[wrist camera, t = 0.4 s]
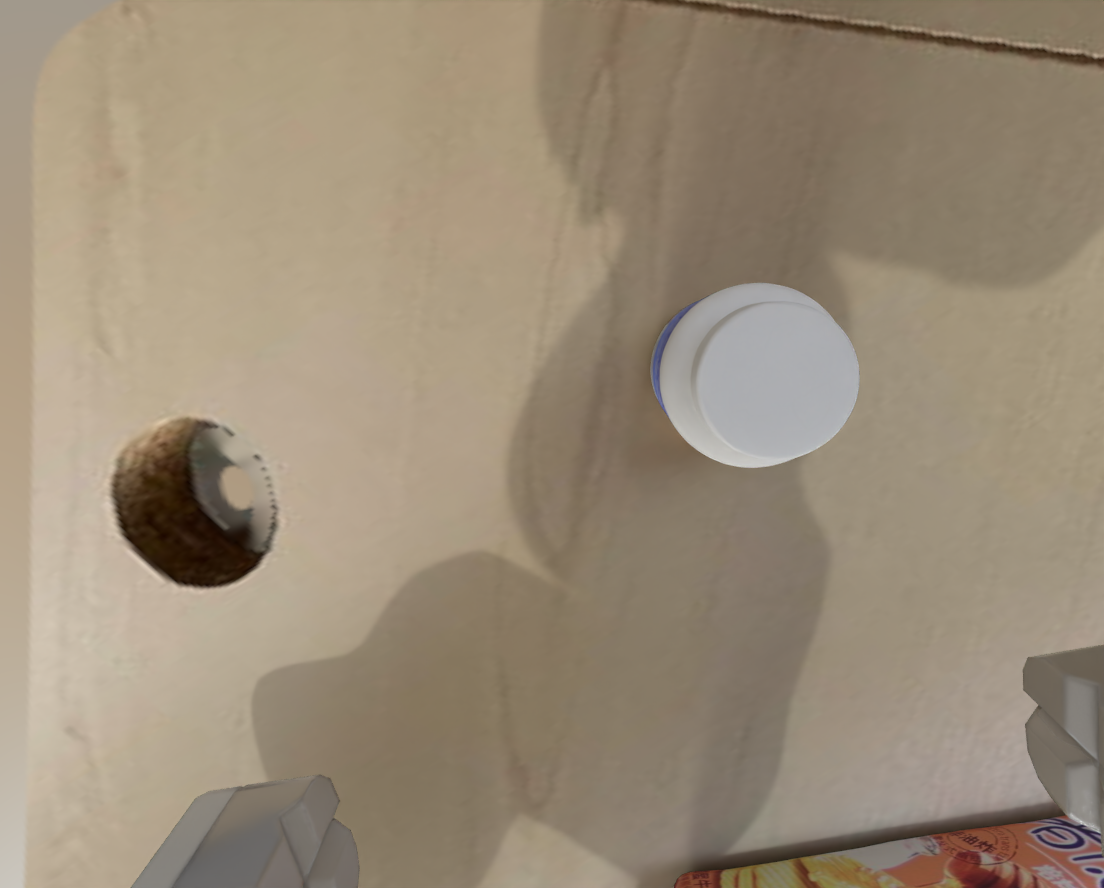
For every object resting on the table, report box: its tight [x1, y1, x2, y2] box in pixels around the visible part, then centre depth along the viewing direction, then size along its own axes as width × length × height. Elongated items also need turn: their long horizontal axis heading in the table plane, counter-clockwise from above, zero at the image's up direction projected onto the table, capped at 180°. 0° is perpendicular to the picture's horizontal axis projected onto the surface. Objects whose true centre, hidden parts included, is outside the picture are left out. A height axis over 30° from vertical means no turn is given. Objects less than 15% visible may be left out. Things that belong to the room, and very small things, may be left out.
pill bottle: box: [651, 283, 860, 468], centre depth 21 cm, size 5×5×10 cm
